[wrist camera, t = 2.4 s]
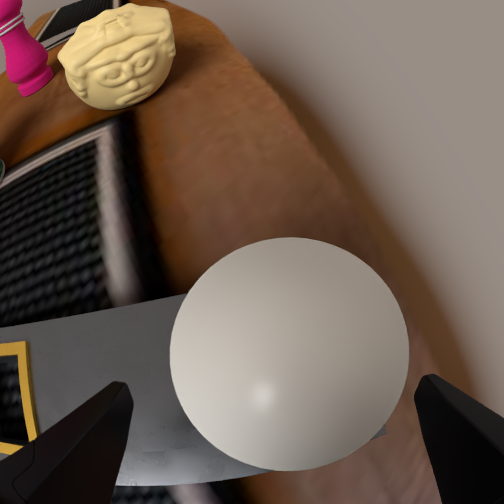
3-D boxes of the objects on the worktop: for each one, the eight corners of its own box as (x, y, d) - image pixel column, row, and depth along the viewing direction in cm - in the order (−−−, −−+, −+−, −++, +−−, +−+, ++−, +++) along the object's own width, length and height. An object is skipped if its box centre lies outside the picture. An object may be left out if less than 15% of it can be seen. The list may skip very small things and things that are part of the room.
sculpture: (91, 142, 25) (47, 53, 15) (79, 93, 29) (51, 26, 19) (196, 93, 27) (181, -2, 17) (161, 56, 31) (146, -14, 22)
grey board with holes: (325, 275, 19) (335, 257, 16) (369, 428, 14) (388, 434, 12) (-20, 341, 16) (-42, 332, 14) (-5, 457, 12) (-28, 458, 10)
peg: (309, 404, 15) (423, 435, 4) (235, 414, 15) (184, 480, 4) (299, 334, 17) (378, 227, 6) (227, 344, 17) (165, 250, 6)
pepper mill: (29, 80, 34) (-9, -6, 16) (62, 66, 34) (26, -29, 16) (13, 105, 31) (-35, 12, 13) (46, 89, 31) (1, -16, 13)
